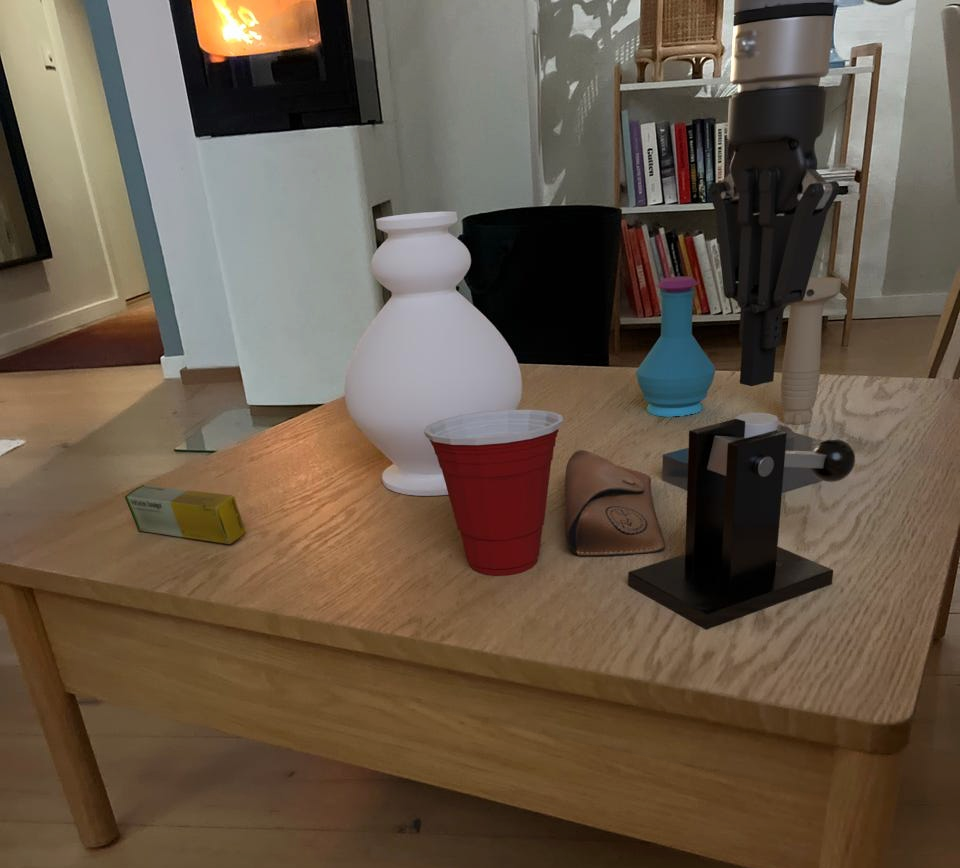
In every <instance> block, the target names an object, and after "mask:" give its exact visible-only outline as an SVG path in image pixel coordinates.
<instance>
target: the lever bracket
mask: <svg viewBox="0 0 960 868" xmlns="http://www.w3.org/2000/svg"><path fill="white" fill-rule="evenodd" d="M714 436H730V437H745V421H743V420H739V419H734V418H733V419H729V420H726V421H725V420H724V421H722V422H717V423H714V424H710V425H706V426H702V427H698V428H694V429H690V430H689V431H688V447H687V448H688V478H687V490H686V512H685V513H686V515H685V516H686V517H685V520H686V521H685V543H684V544H685V545H684V546H685V548H684V551H685V552H684V554H680V555H677V556H674V557H671V558H668V559H663V560H662V561H659V562H655V563H652V564H648V565H646V566H643V567H640V568H636V569H634V570H630V571H628V574H627V586H628V587H630V588H632V589H633V590H634V591H635V590H636V591H637V592H638V593H640V594H642V595H644V596H646V597H647V598H649V599H651V600H653V601H655V602H656V603H659V604H660V605H662V606H664V607H665V608H667V609H668V610H671V611H672V612H674V613H676V614H678V615H680V616H681V617H683V618H685V619H687V620H689V621H690V622H691V623H693V624H695V625H697V626H699V627H701V628H703V629H704V630H710V629H712V628H716V627H718V626H721V625H723V624H726V623H729V622H732V621H734V620H737V619H739V618H743V617H745V616H748V615H751V614H754V613H756V612H760V611H761V610H764V609H767V608H770V607H773V606H775V605H778V604H781V603H784V602H787V601H789V600H792V599H796V598H798V597H800V596H803V595H806V594H809V593H811V592H814V591H817V590H819V589H822V588H825V587H827V586H831V585H832V584H833V579H834V569H832V568H830V567H828V566H825V565H822V564H821V563H818V562H816V561H814V560H811V559H808V558H806V557H804V556H802V555H799V554H797V553H794V552H792V551H790V550H787V549H785V548H782V547H780V546H778V545H779V535H780V534H779V533H780V521H781V520H780V519H781V509H782V498H783V497H782V496H783V493H782V486H783V474H784V461H785V449H786V437H787V433H785V432H781V431H778V430H775V431H771V432H767V433H764V434H760V435H756V436H752V437H749V438H745V439H741V440H737V441H734V442H730V443H728V448H727V468H726V476H724V475H722V474H719V473H716V472H713V471H710V470H708V469H707V466H708V462H709V458H710V453H711V449H712V444H713V440H714Z"/></svg>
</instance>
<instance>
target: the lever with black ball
mask: <svg viewBox="0 0 960 868" xmlns="http://www.w3.org/2000/svg"><path fill="white" fill-rule="evenodd" d="M741 439H745V438H744V437H730V436H714V440H713V444H712V449H711V453H710V458H709V462H708V466H707V469H708V470H710V471H713V472H716V473H719V474H722V475H724V476H726V468H727V448H728V443H730V442H734V441H737V440H741ZM822 441H823V442H821V443H820V444H819V445H817V446H816V448H815V449H814V450H813V452H807V451H785V461H784V467H800V468H811V470H812V472H813V473H814V475H815V476H816V477H818V478H819V479H821V480H823V481H822V482H827V483H836V482H839V481H842V480H844V479H845V478H847V477H848V476H849V475H850V474H851V472H852V471H853V469H854V467H855V464H856V454H855V451H854V449H853V448H852V446H851V445H850V444H849V443H848V442H846V441H844V440H842V439H839V438H830V439H825V440H822Z"/></svg>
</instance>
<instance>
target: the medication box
mask: <svg viewBox="0 0 960 868" xmlns="http://www.w3.org/2000/svg"><path fill="white" fill-rule="evenodd" d="M124 499H125V501H126V504H127V506H128V509H129V511H130V514H131V515H132V518H133V521H134V523H135V526H136V529H137V531H138V533H141V532H146V533H152V534H157V535H158V534H159V535H167V536H172V537H178V538H185V539H191V540H192V539H193V540H200V541H205V542H206V541H207V542H212V543H219V544H226V545H231V544H232V543H234V542H235V541H236V540H238V539H240V537H242V536H243V535H245V533H247V531H246V528H245V525H244V522H243V519H242V516H241V513H240V510H239V506H238V503H237V500H236V497H235V495H233V494H224V493H214V492H206V491H197V490H187V489H178V488H170V487H169V488H168V487H161V486H152V485H145V484H141V485H140V486H138V487H136V488H134V489H132V490H130V492H128V493H127V494H125V495H124Z"/></svg>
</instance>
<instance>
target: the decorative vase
mask: <svg viewBox="0 0 960 868" xmlns="http://www.w3.org/2000/svg"><path fill="white" fill-rule="evenodd" d="M457 222H458V213H457V211H428V212H427V211H426V212H425V211H424V212H414V213H405V214H397V215H388V216H383V217H379V218H376V219H375V223H376V229H377V230H379V231H382V232H384V233H387V238H386V239H385V240H384V241H383V242H382V243H381V244H380V246H379V247H377V249H376V250H375V252H374V254H373V255H372V258H371V262H370V270H371V273H372V275H373V277H374V278H375V280H377V282H378V283H379V284H381V285H382V286H383V288H385V289H386V290H388V291H390V292H391V297H390V298H389V299H387V301H386V303H385V304H384V305H383V307H382V308H381V309H380V310H379V312H378V313H377V315H376V316H375V317H374V318H373V320H372V321H371V323H370V324H369V325H368V326H367V328H366V330H365V331H364V333H363V335H362V337H361V338H360V339H359V342H358V343H357V345H356V348H355V349H354V352H353V354H352V356H351V358H350V361H349V363H348V366H347V368H346V372H345V376H344V385H343V387H344V388H343V390H344V391H343V392H344V401H345V405H346V409H347V412H348V415H349V417H350V419H351V421H352V422H353V423H354V425H355V426H356V427H357V429H358V430H359V431H360V432H361V434H363V435H364V436H365V437H366V438H367V439H368V440H369V442H370V443H372V445H374V446H375V447H376V449H378V450H379V451H380V452H381V453H382V454H383V455H384V456H385V457H386V458H387V459H388V460H389V461H390V462H392V464H391V465H389V466H387V468H385V469H384V470H383V472H382V474H381V481H382V484H383V486H384V487H385V488H386V489H388V490H390V491H392V492H394V493H397V494H402V495H408V496H418V497H437V496H438V497H439V496H449V495H448V491H447V487H446V483H445V480H444V476H443V472H442V469H441V468H440V465H439V462H438V458H437V455H435V451H434V447H433V446H432V444H431V442H430V439H428V438H427V437H426V436H425V433H424V430H425V428H426V427H427V426H428V425H430V424H432V423H435V422H437V421H439V420H443V419H447V418H451V417H455V416H459V415H465V414H471V413H478V412H485V411H498V410H518V407H519V405H520V402H521V399H522V395H523V381H522V380H523V379H522V372H521V369H520V365H519V362H518V360H517V356H516V355H515V353H514V351H513V349H512V348H511V346H510V345H509V343H508V342H507V340H506V339H505V337H504V336H503V335H502V333H501V332H500V331H499V330H498V329H497V327H496V326H495V325H494V324H493V323H492V322H491V321H490V320H489V319H488V318H487V317H486V316H485V315H484V314H483V313H482V312H481V310H479V309H478V308H477V307H476V306H475V305H473V304H472V303H471V302H470V301H469V300H468V299H467V298H466V297H465V296H464V295H462V294H461V293H460V292H459V291H458V290H457V286H458V285H459V283H461V281H462V280H464V277H465V276H466V275H467V273H468V272H469V270H470V268H471V264H472V257H471V253H470V251H469V249H468V248H467V246H466V245H465V244H464V243H463V242H462V240H460V239H458V238H457V237H456V236H455V235H453V234H451V233H450V232H449V228H450V227H451V226H453V225H454V224H456V223H457Z"/></svg>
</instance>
